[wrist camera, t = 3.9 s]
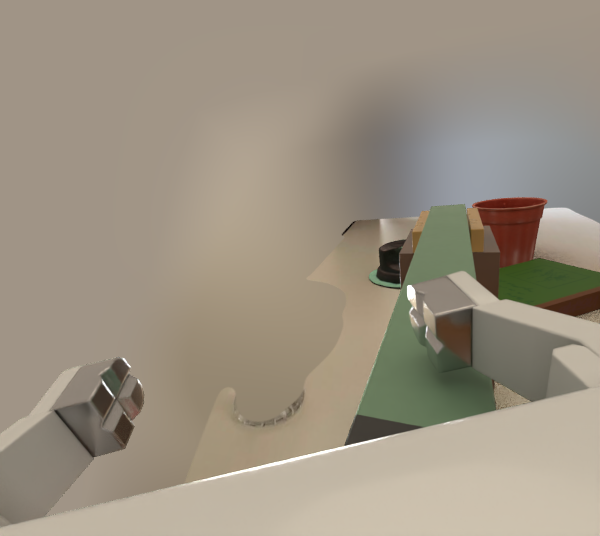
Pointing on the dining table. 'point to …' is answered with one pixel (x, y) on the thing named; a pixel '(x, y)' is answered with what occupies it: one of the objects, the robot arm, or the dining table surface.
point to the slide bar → (422, 348)
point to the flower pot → (513, 226)
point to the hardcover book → (551, 286)
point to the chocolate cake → (388, 265)
